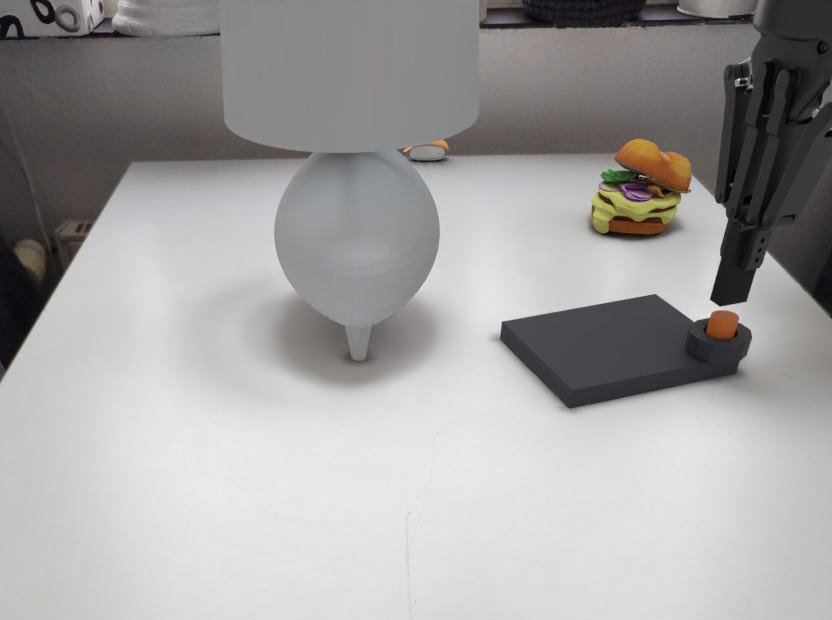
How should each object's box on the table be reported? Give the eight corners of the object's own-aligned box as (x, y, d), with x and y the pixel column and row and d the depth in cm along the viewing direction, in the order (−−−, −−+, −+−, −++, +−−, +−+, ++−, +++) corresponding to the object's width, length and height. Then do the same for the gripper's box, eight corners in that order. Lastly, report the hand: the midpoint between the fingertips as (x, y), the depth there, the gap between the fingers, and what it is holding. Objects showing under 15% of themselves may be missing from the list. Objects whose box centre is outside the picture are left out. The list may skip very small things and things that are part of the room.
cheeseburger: (565, 218, 108) (594, 126, 102) (628, 224, 113) (659, 136, 107) (620, 245, 102) (654, 148, 96) (684, 250, 107) (720, 158, 101)
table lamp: (475, 383, 81) (527, -234, 52) (238, 389, 81) (161, -223, 53) (453, 278, 97) (484, -237, 69) (255, 283, 97) (204, -229, 69)
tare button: (723, 326, 81) (728, 308, 80) (739, 338, 79) (745, 319, 78) (700, 331, 80) (705, 312, 79) (716, 342, 79) (721, 323, 77)
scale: (661, 308, 91) (669, 274, 88) (752, 375, 81) (764, 338, 78) (499, 338, 87) (503, 303, 84) (574, 412, 77) (581, 375, 74)
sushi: (448, 162, 124) (449, 138, 122) (402, 162, 125) (403, 138, 123) (448, 156, 126) (449, 132, 124) (402, 156, 127) (403, 133, 124)
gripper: (721, -46, 64) (649, 278, 81) (846, -16, 56) (737, 340, 72) (807, -53, 66) (719, 266, 83) (942, -25, 57) (814, 325, 74)
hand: (728, 300), depth 78 cm, fingers closed
